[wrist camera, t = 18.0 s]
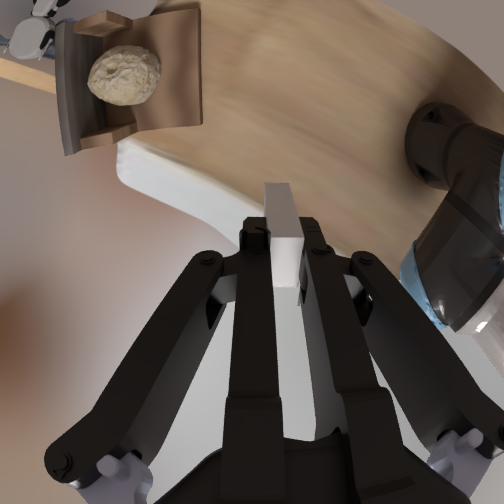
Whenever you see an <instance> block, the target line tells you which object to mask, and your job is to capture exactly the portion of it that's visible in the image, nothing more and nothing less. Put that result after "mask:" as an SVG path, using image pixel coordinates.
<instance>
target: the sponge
mask: <svg viewBox="0 0 504 504" xmlns="http://www.w3.org/2000/svg"><path fill="white" fill-rule="evenodd" d="M160 66H161V64H160V62H159V61H158V59H157V57H156V56H155V55H154V54H153V53H150V52H149V50H148V49H144V48H142V47H140V46H132V45H125V46H115V47H114V48H112V49H110V50H108V51H107V52H105V53H104V54H102V56H101V57H99V58H98V59H97V60H96V61H95V63H94V64H93V66H92V68H91V71H90V74H89V77H88V83H87V84H88V87H89V89H90V90H91V92H92V93H93V94H95V95H96V96H97V97H98V98H99V99H102V100H104V101H106V102H109V103H112V104H115V105H119V106H121V105H123V106H124V105H125V106H126V105H135V104H140V103H143V102H145V101H146V100H147V99H148V98H149V97H150V95H151V94H152V93H153V91H154V90H155V88H156V86H157V84H158V82H159V78H160V75H161V70H160Z"/></svg>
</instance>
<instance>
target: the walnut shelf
mask: <svg viewBox="0 0 504 504" xmlns="http://www.w3.org/2000/svg"><path fill="white" fill-rule="evenodd" d="M125 45H132V46H140V47H142V48H144V49H148V50H149V52H150V53H153V54H154V55H155V56H156V57H157V59H158V61H159V62H160V64H161V66H160V70H161V75H160V78H159V82H158V84H157V86H156V88H155V90H154V91H153V93H152V94H151V95H150V97H149V98H148V99H147V100H146V101H145V102H143V103H140V104H135V105H126V106H125V105H124V106H123V105H121V106H119V105H115V104H112V103H109V102H106V101H104V100H102V99H99V98H98V97H97V96H96V95H95V94H93V93H92V92H91V90H90V89H89V87H88V84H87V83H88V77H89V74H90V71H91V68H92V66H93V64H94V63H95V61H96V60H97V59H98V58H99V57H101V56H102V54H104V53H105V52H107V51H108V50H110V49H112V48H114V47H115V46H125ZM55 75H56V92H57V104H58V113H59V121H60V129H61V136H62V142H63V147H64V153H65V156H67V155H72V154H75V153H77V152H78V151H80V150H83V149H88V148H93V147H99V146H104V145H110V144H114V143H116V142H118V141H120V140H122V139H124V138H126V137H128V136H130V135H132V134H134V133H136V132H138V131H145V130H153V129H162V128H172V127H184V126H197V125H201V124H203V115H202V87H201V11H200V10H199V8H193V9H185V10H179V11H173V12H167V13H162V14H157V15H152V16H148V17H144V18H139V19H135V20H131V19H129V18H126V17H124V16H121V15H119V14H116V13H113V12H110V11H107V10H106V11H103V12H100V13H98V14H95V15H92V16H90V17H87V18H85V19H82V20H80V21H77V22H75V23H70V22H63V23H61V24H59V25H57V26H56V31H55Z"/></svg>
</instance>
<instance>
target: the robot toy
mask: <svg viewBox="0 0 504 504" xmlns="http://www.w3.org/2000/svg"><path fill="white" fill-rule="evenodd" d="M69 1H70V0H33V3H34V5H35V6H34V8H33V10H32V12H31V15H33V16H32V17H29V18H26V19H24V20H23V21H22V22H21V23H20V24H19V25H18V26H17V27H16V29H15V31H14V33H13V36H12V38H11V40H10V41H9V43H8V45H7V46H6V48H5V50H4V51H3V53H5V51H6V49H7V47H8V46H9V50H10V53H11V54H12V55H13V56H14V57H16V58H18V59H34V58H37V57H39V56H40V57H39V58H38V60H40V59H41V58H42V55H43V54H44V52H45V51H46V50H47V49H48V47H49V45H50V43H51V42H52V41H53V37H54V34H55V24H54V22H53V21H52V20H51V19H49V18H50V17H53V16H54V15H55V14H56V10H57V9H58V8H59V7H61V6H63V5H65V4H67V3H68V2H69Z"/></svg>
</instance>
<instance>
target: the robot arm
mask: <svg viewBox="0 0 504 504" xmlns="http://www.w3.org/2000/svg"><path fill="white" fill-rule="evenodd" d="M405 152H406V157H407V161H408V163H409V166H410V168H411V169H412V171H413V173H414V174H415V175H416V176H417V177H418V178H419V179H420V180H422V181H423V182H424V183H426V184H427V185H429V186H431V187H433V188H436V189H441V190H446V191H448V193H447V195H446V196H445V198H444V199H443V201H442V203H441V204H440V206H439V207H438V209H437V210H436V212H435V214H434V215H433V217H432V218H431V220H430V221H429V223H428V224H427V226H426V227H425V229H424V230H423V231H422V233H421V234H420V236H419V237H418V239H417V240H415V241H414V242H413V243H412V247H411V249H410V250H409V252H408V253H407V255H406V256H405V258H404V259H403V261H402V263H401V266H400V278H401V283H402V284H401V283H400V282H399V281H398V280H397V279H396V278H395V276H394V275H393V274H392V273H391V272H390V271H389V270H388V269H387V267H386V266H385V265H384V264H383V263H382V262H381V261H380V260H379V259H378V258H377V257H376V256H375V255H374V254H372V253H369V252H367V251H357V252H354V253H353V254H352V257H351V258H346V257H342V256H338V255H336V254H335V251H334V249H333V248H332V247H331V246H330V245H328V244H326V242H325V239H324V236H323V234H322V232H321V229H320V226H319V223H318V222H317V221H316V220H315V219H314V218H313V217H298V213H297V210H296V206H295V203H294V199H293V196H292V192H291V189H290V186H289V183H265V196H264V217H247V218H246V219H245V220H244V221H243V229H241V230H240V233H239V242H240V250H239V252H237V253H236V254H234V255H232V256H228V257H223V256H222V255H221V254H220V253H219V252H217V251H213V250H206V251H201V252H199V253H197V254H196V255H195V256H193V258H192V259H191V260H190V262H189V263H188V265H187V266H186V267H185V269H184V270H183V272H182V273H181V274H180V276H179V277H178V279H177V280H176V282H175V283H174V284H173V286H172V287H171V289H170V290H169V291H168V293H167V294H166V296H165V297H164V299H163V300H162V302H161V303H160V305H159V306H158V307H157V309H156V310H155V312H154V313H153V315H152V316H151V318H150V319H149V321H148V322H147V324H146V325H145V327H144V328H143V330H142V331H141V333H140V334H139V336H138V337H137V339H136V340H135V342H134V343H133V345H132V346H131V348H130V349H129V351H128V352H127V354H126V356H125V357H124V359H123V360H122V362H121V364H120V365H119V366H118V368H117V370H116V371H115V373H114V374H113V376H112V378H111V379H110V381H109V382H108V384H107V386H106V387H105V389H104V391H103V392H102V394H101V395H100V397H99V399H98V400H97V402H96V404H95V405H94V407H93V409H92V410H91V411H90V412H89V413H88V414H87V415H86V416H84V417H83V418H82V419H81V420H80V421H79V422H77V423H76V424H75V425H74V426H73V427H71V428H70V429H69V430H68V431H67V432H65V433H64V434H63V435H62V436H60V437H59V438H58V439H57V440H56V441H54V442H53V443H52V444H51V445H50V446H49V447H48V449H47V450H46V452H45V456H44V463H45V467H46V469H47V472H48V473H49V475H50V476H51V477H52V478H53V479H54V480H56V481H58V482H60V483H62V484H65V485H67V486H70V487H73V488H75V489H77V491H78V492H79V493H80V494H81V495H82V497H83V498H84V499H85V500H86V501H87V503H88V504H147V503H146V498H147V494H148V492H149V490H150V488H151V487H152V483H153V476H152V473H151V471H150V469H149V468H148V466H149V465H150V464H151V462H152V461H153V460H154V458H155V457H156V455H157V454H158V452H159V450H160V449H161V446H162V445H163V443H164V441H165V439H166V437H167V434H168V432H169V430H170V428H171V426H172V423H173V421H174V419H175V417H176V415H177V412H178V410H179V408H180V406H181V404H182V401H183V399H184V397H185V395H186V393H187V391H188V389H189V386H190V384H191V382H192V380H193V378H194V375H195V373H196V371H197V369H198V367H199V365H200V362H201V360H202V358H203V356H204V354H205V351H206V349H207V347H208V345H209V343H210V341H211V338H212V336H213V334H214V332H215V330H216V328H217V326H218V323H219V321H220V319H221V317H222V315H223V312H224V310H225V308H226V305H227V303H228V302H233V301H235V312H234V324H233V338H232V351H231V364H230V378H229V391H228V396H227V398H226V404H225V417H224V431H223V445H222V448H220V449H218V450H216V451H214V452H213V453H211V454H210V455H208V456H207V457H205V458H204V459H203V460H202V461H201V462H200V463H199V464H198V465H197V466H196V467H195V468H194V469H193V470H192V471H191V472H190V473H188V474H187V475H186V476H185V477H184V478H183V479H182V480H181V481H180V482H179V483H177V484H176V485H175V486H174V487H173V488H172V489H170V490H169V491H168V492H167V493H166V494H165V495H163V496H162V497H161V498H160V499H159V500H158V501H156V502H155V503H154V504H471V502H470V499H469V498H470V497H471V495H472V494H473V492H474V490H475V489H476V487H477V486H478V484H479V482H480V481H481V479H482V478H483V476H484V474H485V472H486V471H487V469H488V467H489V465H490V464H491V462H492V460H493V459H494V458H495V457H497V456H499V455H501V454H502V453H504V411H503V410H502V409H501V408H500V407H499V406H498V405H497V404H496V403H494V402H493V401H492V400H491V399H490V398H489V397H488V396H486V395H485V394H484V393H483V392H482V391H481V390H480V388H479V386H478V385H477V384H476V382H475V380H474V379H473V377H472V376H471V374H470V373H469V371H468V370H467V368H466V367H465V366H464V364H463V363H462V361H461V360H460V358H459V357H458V356H457V354H456V353H455V351H454V350H453V349H452V347H451V346H450V345H449V343H448V342H447V340H446V339H445V338H444V337H443V335H442V334H441V333H440V331H439V330H438V329H443V328H447V326H450V327H451V328H452V329H453V331H454V332H455V333H456V334H469V335H472V337H473V338H474V339H475V340H476V342H477V343H478V344H479V346H480V347H481V348H482V350H483V351H484V353H485V354H486V355H487V357H488V358H489V359H490V361H491V362H492V364H493V365H494V366H495V368H496V369H497V371H498V372H499V374H500V375H501V377H502V378H503V380H504V259H503V257H504V135H502V134H500V133H497V132H495V131H492V130H490V129H487V128H485V127H482V126H479V125H477V124H475V123H474V122H473V121H472V120H471V119H470V118H469V117H468V116H466V115H465V114H464V113H463V112H462V111H461V110H459V109H458V108H456V107H454V106H452V105H448V104H445V103H439V102H435V103H430V104H427V105H425V106H423V107H422V108H421V109H419V110H418V111H417V112H416V113H415V115H414V116H413V118H412V119H411V121H410V123H409V126H408V128H407V132H406V137H405ZM299 280H300V292H299V298H298V306H300V303H301V308H302V315H303V322H304V329H305V336H306V343H307V350H308V358H309V366H310V373H311V380H312V390H313V398H314V407H315V416H316V430H315V440H314V441H302V440H295V439H290V438H285V437H284V436H283V414H282V401H281V397H280V396H279V380H278V362H277V345H276V344H277V343H276V326H275V310H274V295H273V287H298V284H299ZM369 295H370V296H371V298H372V300H371V299H370V298H369ZM369 352H370V353H369ZM370 354H371V355H372V357H373V359H374V360H375V362H376V364H377V365H378V367H379V369H380V371H381V372H382V374H383V376H384V378H385V379H386V381H387V383H388V385H389V386H390V388H391V390H392V392H393V394H394V395H395V397H396V399H397V401H398V403H399V404H400V406H401V408H402V410H403V412H404V414H405V415H406V417H407V419H408V421H409V423H410V425H411V427H412V429H413V430H414V432H415V434H416V435H417V437H418V439H419V440H420V442H421V443H422V444H423V445H424V447H425V448H426V449H427V450H428V451H429V452H430V453H431V454H430V457H429V458H428V460H427V464H426V463H425V462H424V461H422V460H421V459H420V458H419V457H418V456H416V455H415V454H414V453H413V452H411V451H410V450H409V449H408V448H407V447H405V446H404V445H403V441H402V437H401V432H400V428H399V423H398V420H397V415H396V411H395V407H394V404H393V400H392V397H391V394H390V392H389V390H388V389H387V388H385V387H381V386H380V385H379V384H378V381H377V378H376V374H375V371H374V367H373V363H372V360H371V356H370Z"/></svg>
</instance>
